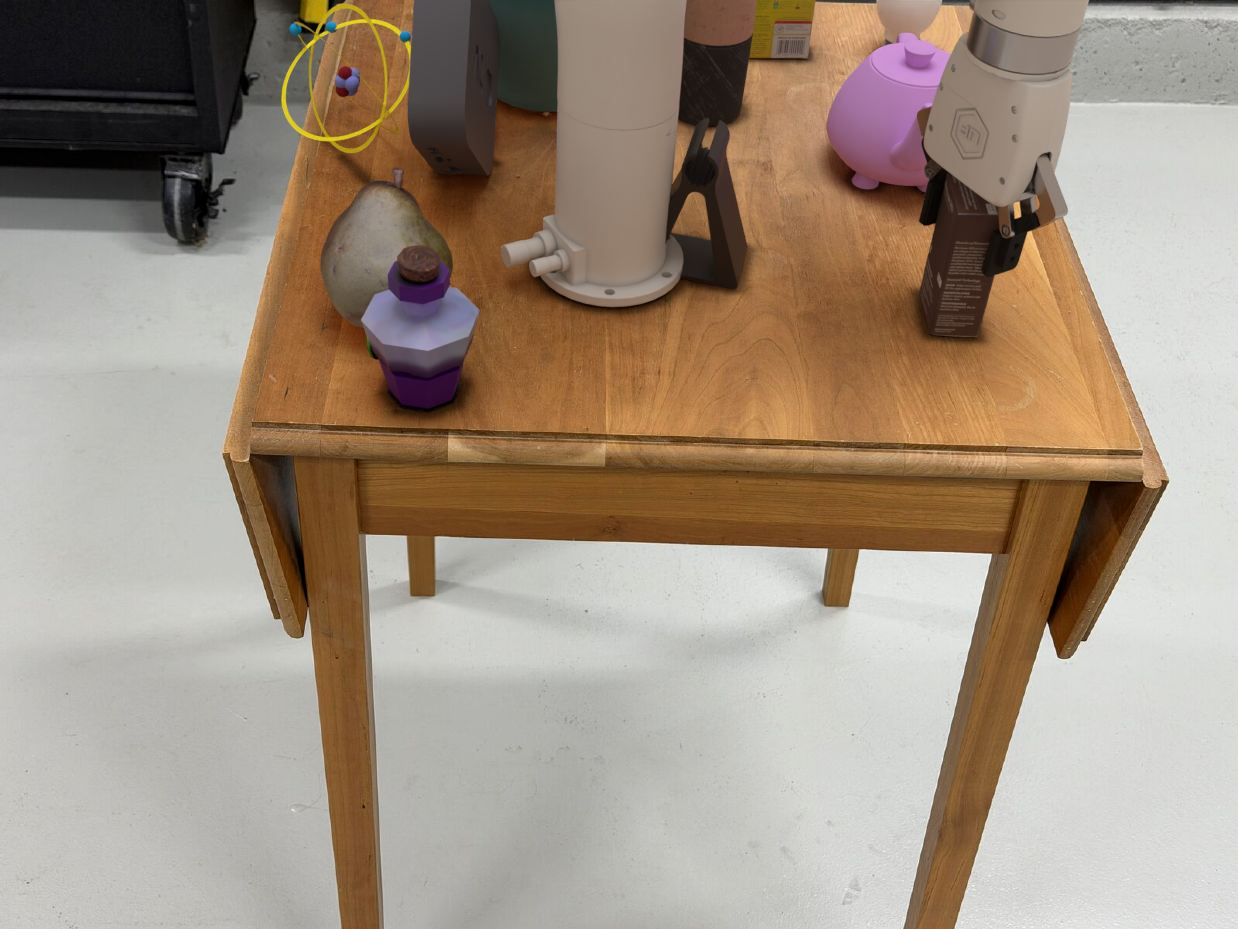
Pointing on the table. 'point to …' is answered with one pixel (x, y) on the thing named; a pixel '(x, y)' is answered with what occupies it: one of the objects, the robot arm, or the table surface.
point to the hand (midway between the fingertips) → (966, 244)
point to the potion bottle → (420, 331)
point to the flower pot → (527, 53)
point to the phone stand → (709, 211)
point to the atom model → (345, 77)
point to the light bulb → (906, 17)
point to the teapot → (887, 113)
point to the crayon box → (782, 29)
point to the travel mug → (715, 59)
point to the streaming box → (454, 85)
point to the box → (958, 262)
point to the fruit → (374, 244)
